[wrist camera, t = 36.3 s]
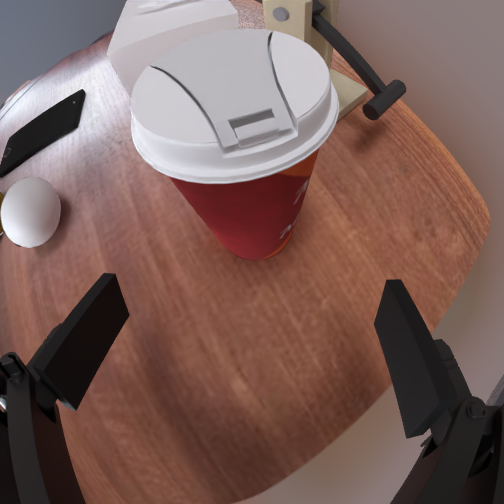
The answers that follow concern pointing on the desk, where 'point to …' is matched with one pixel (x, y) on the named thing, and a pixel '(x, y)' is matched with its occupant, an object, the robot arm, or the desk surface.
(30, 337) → the desk surface
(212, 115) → the coffee cup
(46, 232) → the white sphere
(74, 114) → the cell phone
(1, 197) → the mug
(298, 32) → the lever base
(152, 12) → the hammer on box
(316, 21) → the black lever
